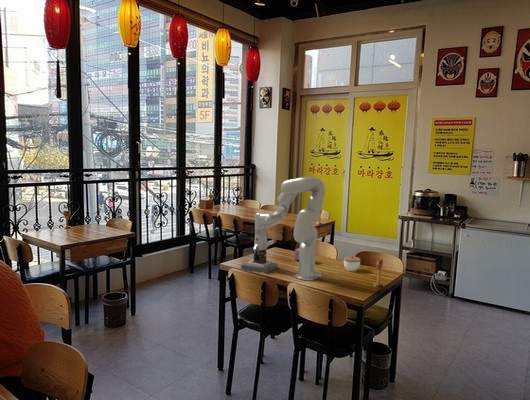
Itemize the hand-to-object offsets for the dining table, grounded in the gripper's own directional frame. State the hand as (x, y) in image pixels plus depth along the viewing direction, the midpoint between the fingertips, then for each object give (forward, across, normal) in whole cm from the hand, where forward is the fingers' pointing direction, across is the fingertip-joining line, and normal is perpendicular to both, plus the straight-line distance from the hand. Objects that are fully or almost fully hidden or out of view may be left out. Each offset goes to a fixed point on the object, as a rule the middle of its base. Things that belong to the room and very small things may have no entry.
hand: (260, 258), depth 257 cm
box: (+2, 0, 0) cm, 2 cm away
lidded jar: (+6, +28, -52) cm, 59 cm away
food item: (+7, +32, -18) cm, 38 cm away
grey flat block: (+6, 0, 0) cm, 6 cm away
